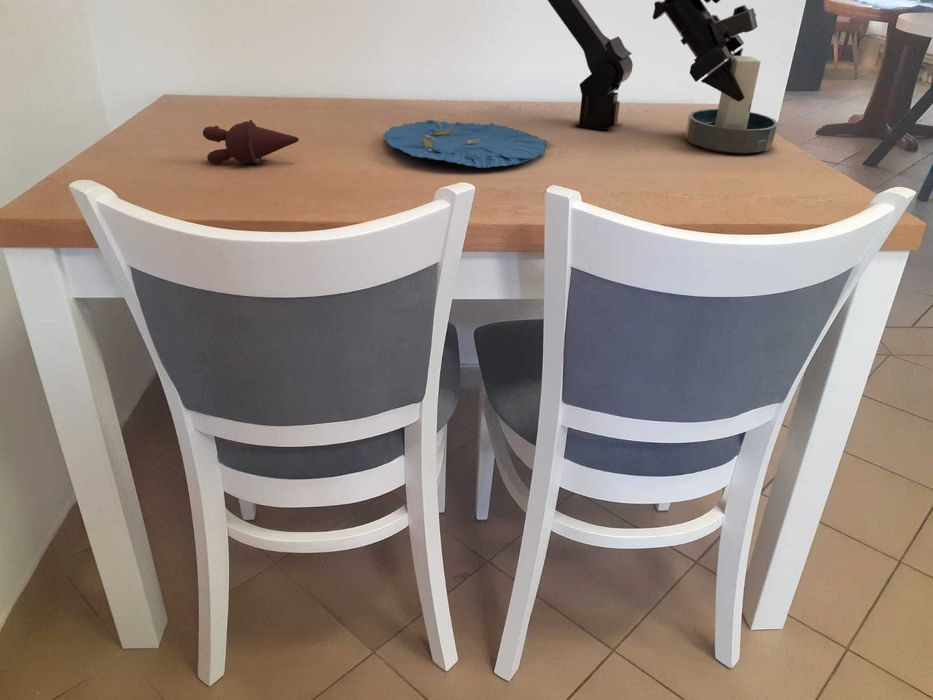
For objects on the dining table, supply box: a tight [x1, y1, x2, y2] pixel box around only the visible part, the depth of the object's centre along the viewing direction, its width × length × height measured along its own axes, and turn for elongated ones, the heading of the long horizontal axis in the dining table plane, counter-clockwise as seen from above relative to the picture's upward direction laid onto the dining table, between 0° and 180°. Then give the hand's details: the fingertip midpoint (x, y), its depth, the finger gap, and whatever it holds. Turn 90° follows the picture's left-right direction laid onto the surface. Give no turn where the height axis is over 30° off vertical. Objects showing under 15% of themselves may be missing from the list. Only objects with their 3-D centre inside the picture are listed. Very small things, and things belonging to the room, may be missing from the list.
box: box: [715, 55, 762, 129], centre depth 130 cm, size 5×4×13 cm
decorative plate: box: [382, 116, 548, 169], centre depth 128 cm, size 30×30×5 cm
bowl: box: [684, 108, 779, 155], centre depth 134 cm, size 15×15×4 cm
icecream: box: [202, 119, 300, 165], centre depth 117 cm, size 7×7×15 cm
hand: (744, 96), depth 130 cm, fingers closed on box, 6 cm apart
